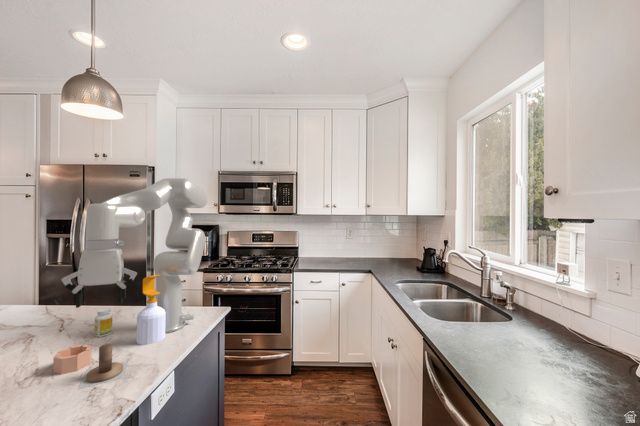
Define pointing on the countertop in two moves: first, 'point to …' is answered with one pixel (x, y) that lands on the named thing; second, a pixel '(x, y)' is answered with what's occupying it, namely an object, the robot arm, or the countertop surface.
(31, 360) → the countertop surface
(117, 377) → the mat
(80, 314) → the countertop surface
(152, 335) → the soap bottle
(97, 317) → the supplement bottle
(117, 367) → the lid
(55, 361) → the octagonal peach pot
